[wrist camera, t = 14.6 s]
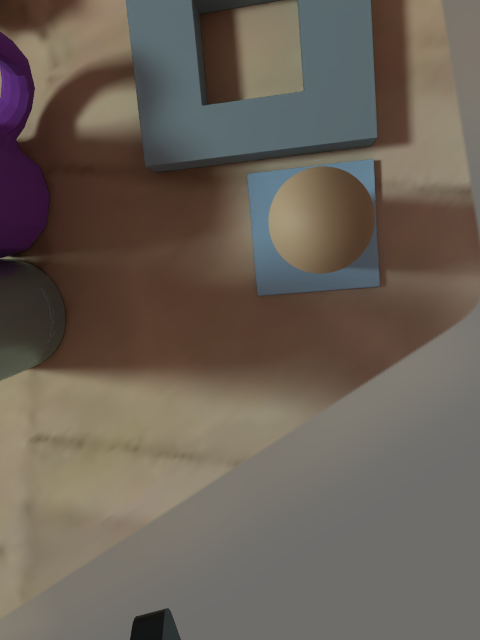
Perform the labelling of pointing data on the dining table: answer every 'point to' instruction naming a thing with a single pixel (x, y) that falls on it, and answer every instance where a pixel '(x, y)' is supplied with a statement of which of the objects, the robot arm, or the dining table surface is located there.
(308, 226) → the peg
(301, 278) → the pad
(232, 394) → the dining table surface
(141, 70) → the board
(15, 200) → the mug
